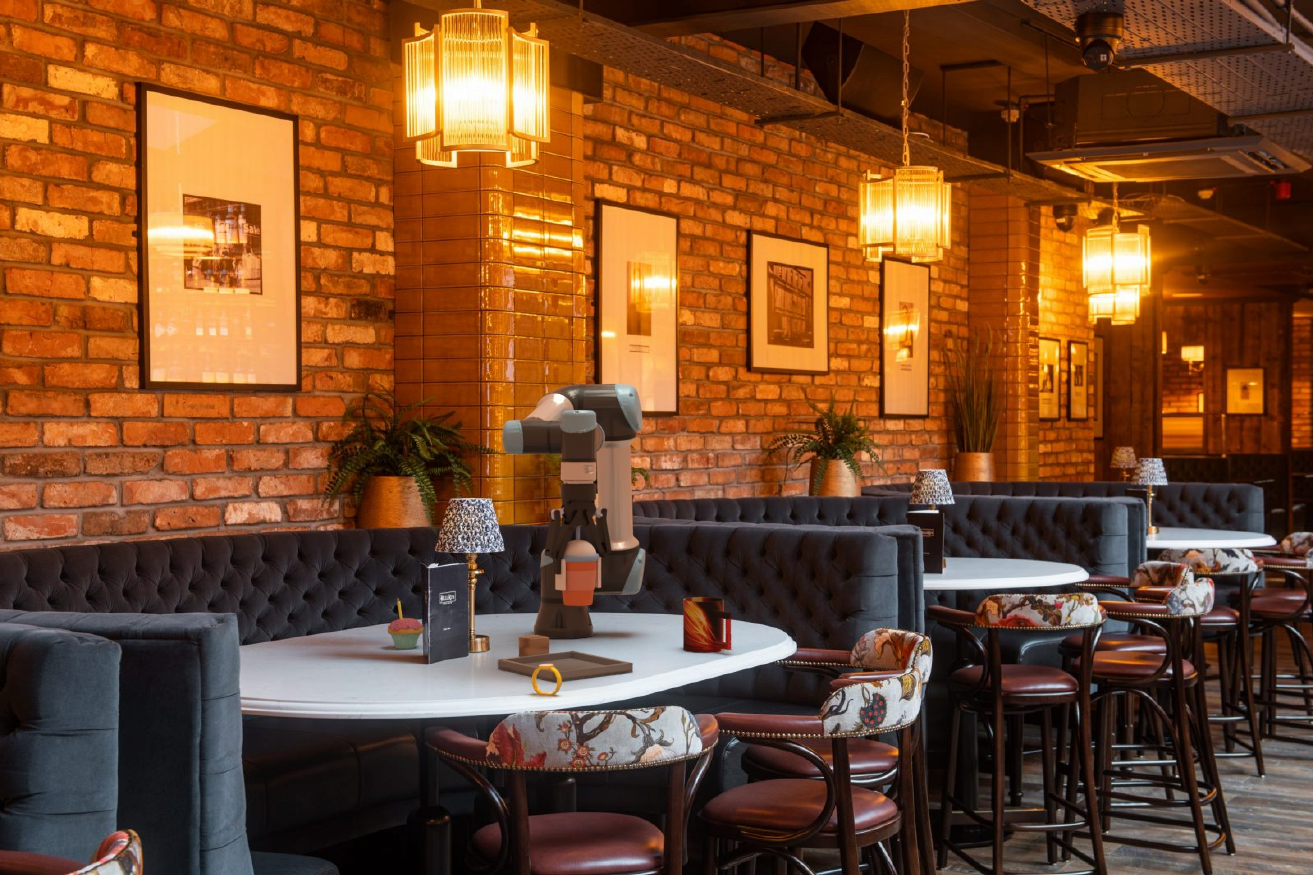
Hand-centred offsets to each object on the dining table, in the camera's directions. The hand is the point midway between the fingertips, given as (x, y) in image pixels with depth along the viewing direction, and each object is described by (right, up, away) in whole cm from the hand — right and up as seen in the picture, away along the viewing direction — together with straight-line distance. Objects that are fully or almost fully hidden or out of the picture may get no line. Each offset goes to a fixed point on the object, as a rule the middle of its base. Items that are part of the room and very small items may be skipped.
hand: (578, 588), depth 293 cm
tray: (-3, -18, +4) cm, 19 cm away
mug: (+30, -19, +33) cm, 48 cm away
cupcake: (-44, -18, +37) cm, 60 cm away
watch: (-5, -18, -24) cm, 31 cm away
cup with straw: (0, -4, 0) cm, 4 cm away
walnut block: (-11, -18, +20) cm, 30 cm away
